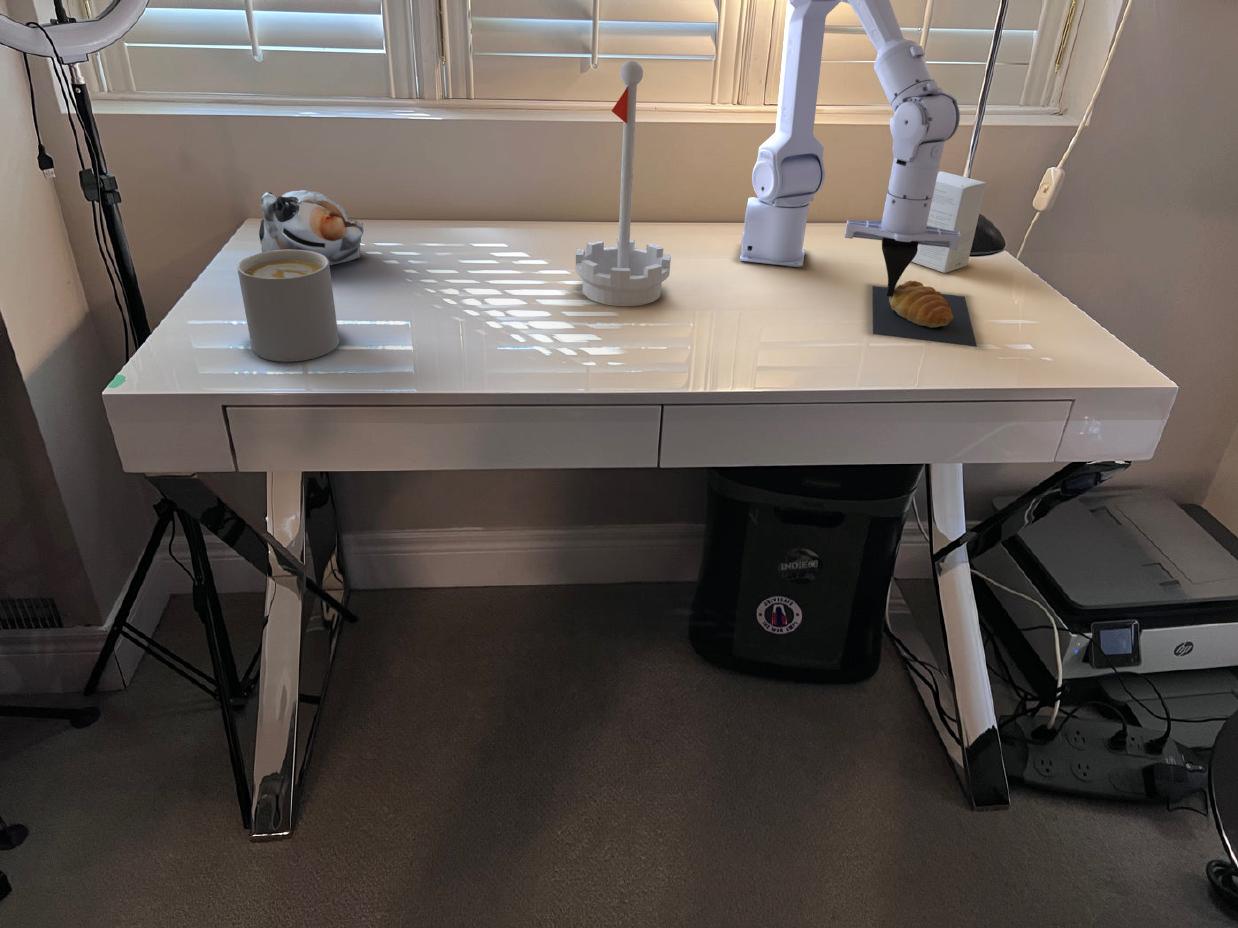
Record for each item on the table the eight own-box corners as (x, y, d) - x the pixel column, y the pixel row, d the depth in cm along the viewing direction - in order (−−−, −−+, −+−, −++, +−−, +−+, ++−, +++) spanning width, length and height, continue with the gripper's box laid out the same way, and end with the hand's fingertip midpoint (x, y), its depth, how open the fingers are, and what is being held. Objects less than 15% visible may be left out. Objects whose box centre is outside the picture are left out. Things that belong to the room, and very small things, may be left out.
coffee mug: (336, 359, 109) (326, 277, 103) (246, 364, 107) (230, 280, 102) (342, 315, 120) (333, 239, 115) (261, 318, 118) (247, 241, 113)
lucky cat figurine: (374, 249, 141) (381, 179, 130) (347, 305, 134) (351, 237, 123) (276, 216, 139) (273, 142, 128) (243, 271, 132) (238, 198, 121)
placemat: (872, 334, 122) (873, 333, 122) (872, 287, 137) (872, 285, 137) (976, 347, 120) (976, 346, 119) (964, 297, 135) (964, 296, 134)
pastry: (964, 328, 124) (970, 301, 122) (921, 334, 122) (927, 306, 120) (922, 302, 132) (927, 276, 130) (881, 307, 130) (886, 281, 128)
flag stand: (601, 269, 138) (608, 49, 123) (682, 286, 134) (700, 60, 118) (558, 296, 128) (559, 61, 112) (644, 316, 124) (658, 73, 108)
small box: (967, 266, 146) (988, 182, 139) (944, 274, 142) (964, 188, 136) (923, 251, 151) (941, 170, 144) (900, 259, 148) (917, 175, 141)
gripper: (852, 196, 118) (835, 297, 125) (971, 208, 116) (946, 311, 123) (853, 182, 124) (836, 280, 131) (966, 193, 122) (943, 292, 129)
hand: (889, 294), depth 128 cm, fingers closed, pressing on pastry
